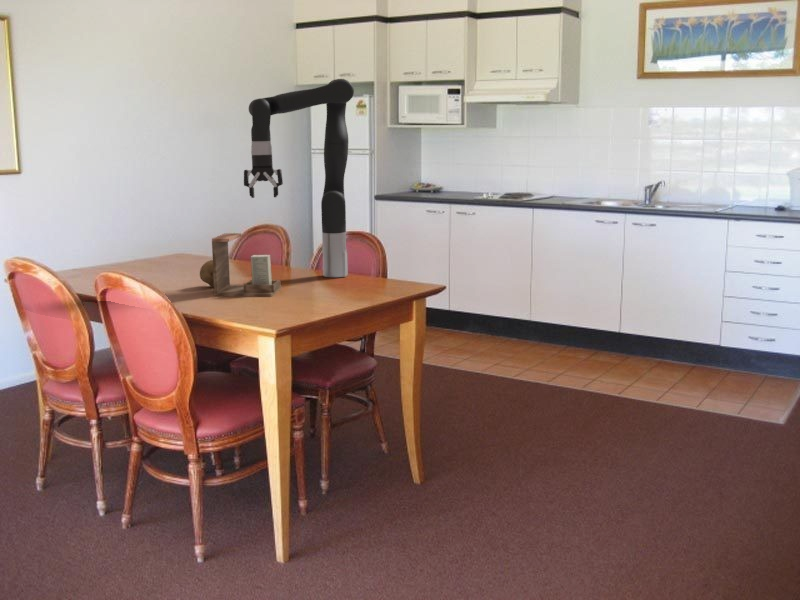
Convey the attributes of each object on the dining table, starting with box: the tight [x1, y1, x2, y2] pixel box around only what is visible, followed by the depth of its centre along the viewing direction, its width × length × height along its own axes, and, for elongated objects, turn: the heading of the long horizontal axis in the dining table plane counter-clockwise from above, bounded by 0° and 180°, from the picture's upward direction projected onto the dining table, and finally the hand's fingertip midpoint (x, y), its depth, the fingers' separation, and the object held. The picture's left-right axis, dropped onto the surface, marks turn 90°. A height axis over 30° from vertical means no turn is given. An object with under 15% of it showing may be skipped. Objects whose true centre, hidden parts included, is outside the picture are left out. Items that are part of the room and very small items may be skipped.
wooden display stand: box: [211, 232, 282, 297], centre depth 312 cm, size 20×16×20 cm
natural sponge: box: [199, 259, 214, 288], centre depth 324 cm, size 9×9×10 cm
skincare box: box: [250, 254, 273, 285], centre depth 312 cm, size 6×4×12 cm
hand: (264, 197), depth 332 cm, fingers open, 8 cm apart
